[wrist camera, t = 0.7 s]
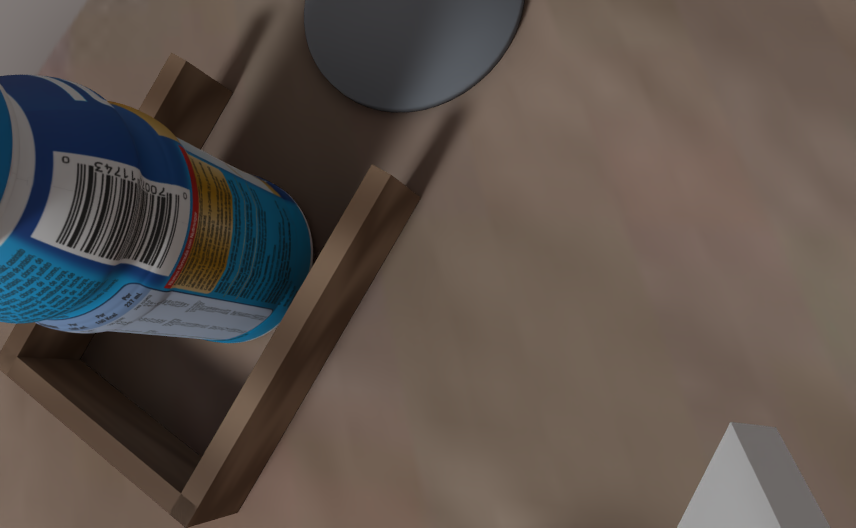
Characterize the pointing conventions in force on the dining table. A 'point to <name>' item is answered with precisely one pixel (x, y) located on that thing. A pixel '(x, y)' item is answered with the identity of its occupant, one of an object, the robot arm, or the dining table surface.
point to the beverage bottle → (135, 224)
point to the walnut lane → (274, 371)
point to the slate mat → (408, 47)
